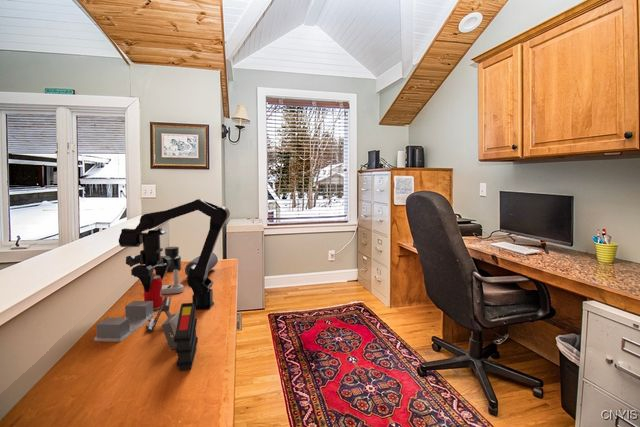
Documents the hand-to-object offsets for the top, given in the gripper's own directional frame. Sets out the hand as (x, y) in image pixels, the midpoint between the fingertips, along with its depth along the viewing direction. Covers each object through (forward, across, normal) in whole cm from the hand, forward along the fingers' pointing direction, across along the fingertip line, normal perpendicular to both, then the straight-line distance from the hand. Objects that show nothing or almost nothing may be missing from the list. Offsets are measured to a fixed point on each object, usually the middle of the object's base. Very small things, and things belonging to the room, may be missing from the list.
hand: (153, 287), depth 127 cm
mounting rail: (+8, +16, -1) cm, 18 cm away
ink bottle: (+8, -55, -17) cm, 58 cm away
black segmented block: (+8, +38, +27) cm, 47 cm away
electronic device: (+8, -18, -4) cm, 20 cm away
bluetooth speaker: (+8, -46, +2) cm, 46 cm away
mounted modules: (+8, +16, -1) cm, 18 cm away
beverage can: (+8, 0, 0) cm, 8 cm away
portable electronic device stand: (+8, +16, +10) cm, 20 cm away
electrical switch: (+8, +28, +21) cm, 36 cm away
